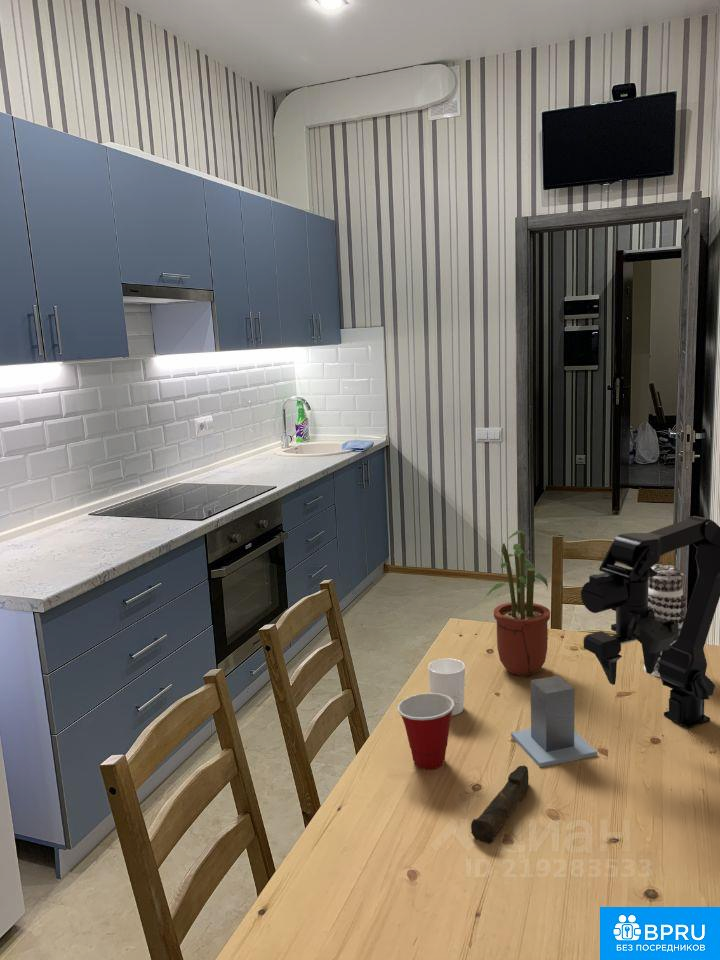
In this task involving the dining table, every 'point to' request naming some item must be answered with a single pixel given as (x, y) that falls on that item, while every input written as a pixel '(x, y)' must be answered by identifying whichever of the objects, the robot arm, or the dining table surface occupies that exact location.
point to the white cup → (448, 680)
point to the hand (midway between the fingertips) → (630, 678)
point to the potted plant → (521, 617)
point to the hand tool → (501, 806)
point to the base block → (556, 756)
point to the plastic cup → (427, 727)
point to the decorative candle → (666, 598)
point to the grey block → (552, 713)
